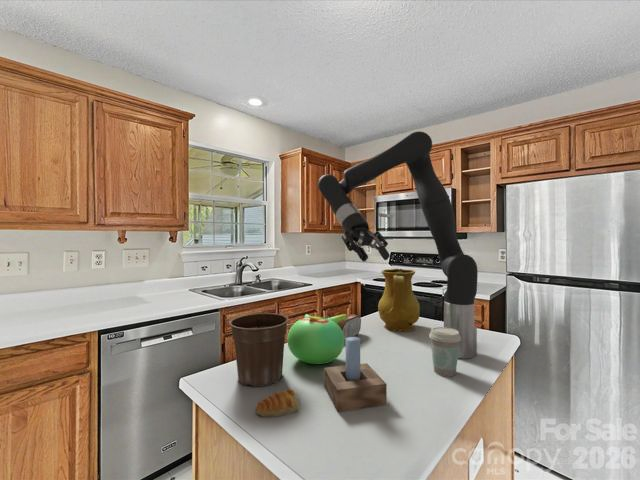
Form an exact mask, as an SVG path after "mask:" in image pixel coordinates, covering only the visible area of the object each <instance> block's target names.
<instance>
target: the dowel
mask: <svg viewBox="0 0 640 480" xmlns="http://www.w3.org/2000/svg"><path fill="white" fill-rule="evenodd" d="M360 364H361V338H360V337H357V336H355V337H348V338H346V341H345V366H346V381H356V380H360Z"/></svg>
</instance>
